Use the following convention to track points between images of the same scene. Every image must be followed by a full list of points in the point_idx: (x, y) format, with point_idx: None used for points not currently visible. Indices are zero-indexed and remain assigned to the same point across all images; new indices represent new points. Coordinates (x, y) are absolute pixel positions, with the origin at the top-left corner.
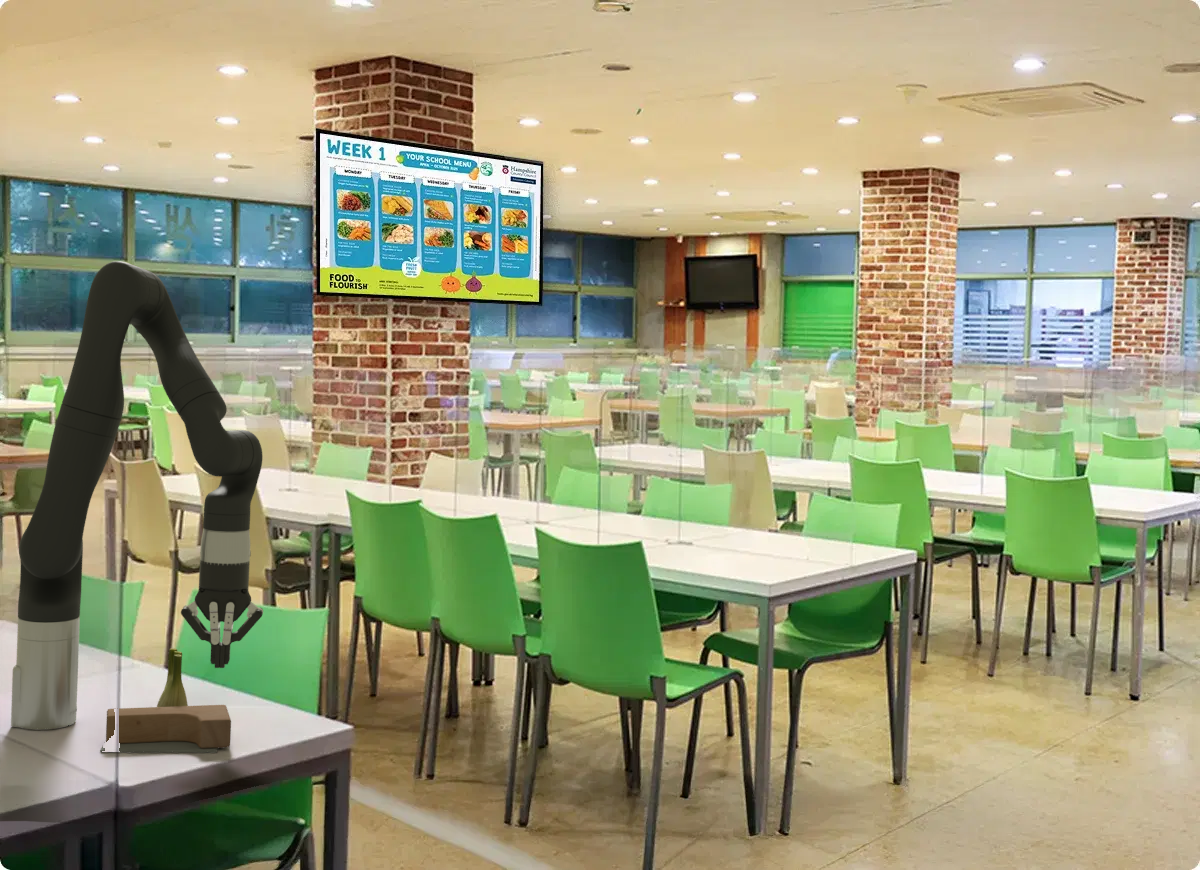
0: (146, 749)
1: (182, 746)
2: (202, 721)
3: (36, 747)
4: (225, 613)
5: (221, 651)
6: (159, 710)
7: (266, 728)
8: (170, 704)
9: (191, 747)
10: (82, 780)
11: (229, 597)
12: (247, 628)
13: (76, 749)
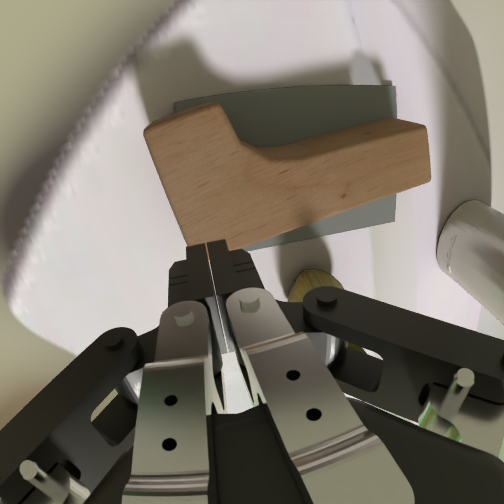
0: (321, 89)
1: (255, 116)
2: (216, 104)
3: (467, 119)
4: (219, 477)
5: (204, 278)
6: (341, 179)
7: (126, 287)
8: (324, 283)
9: (234, 112)
10: None
11: None
12: (55, 393)
13: (425, 107)
